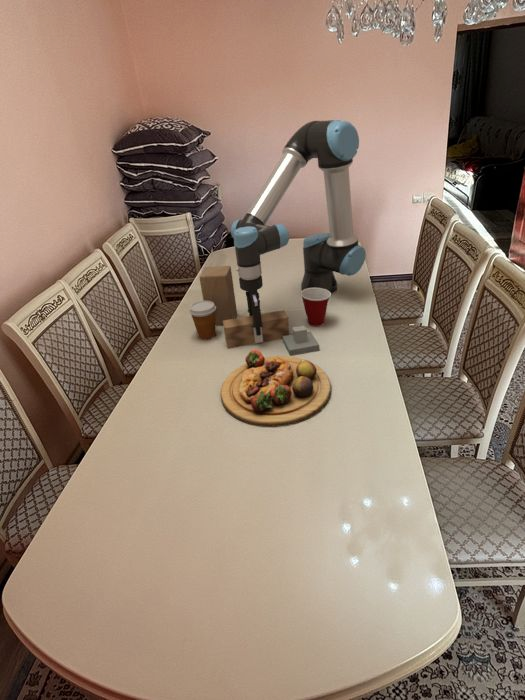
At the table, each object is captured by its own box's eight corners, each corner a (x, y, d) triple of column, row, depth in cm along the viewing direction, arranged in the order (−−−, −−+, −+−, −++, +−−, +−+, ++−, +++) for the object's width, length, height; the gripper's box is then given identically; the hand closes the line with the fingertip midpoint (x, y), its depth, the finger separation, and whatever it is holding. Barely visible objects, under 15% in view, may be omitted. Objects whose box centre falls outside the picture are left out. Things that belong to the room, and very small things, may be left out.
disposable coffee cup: (189, 340, 163) (183, 310, 157) (202, 328, 170) (197, 299, 164) (212, 343, 159) (207, 312, 153) (224, 330, 166) (220, 301, 160)
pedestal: (310, 336, 157) (309, 319, 154) (319, 350, 148) (318, 332, 145) (282, 341, 156) (281, 324, 152) (289, 355, 147) (288, 338, 144)
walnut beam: (285, 330, 163) (284, 310, 159) (289, 337, 158) (288, 317, 154) (225, 340, 160) (222, 320, 156) (227, 348, 155) (224, 328, 151)
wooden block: (237, 313, 178) (230, 265, 168) (233, 325, 170) (226, 275, 160) (212, 314, 180) (204, 266, 170) (207, 326, 171) (198, 276, 161)
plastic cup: (333, 328, 160) (332, 297, 154) (302, 330, 161) (300, 299, 155) (330, 315, 169) (329, 285, 163) (301, 317, 170) (299, 287, 164)
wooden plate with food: (215, 372, 143) (211, 350, 139) (312, 353, 147) (311, 331, 142) (229, 440, 116) (224, 415, 112) (347, 414, 120) (347, 389, 116)
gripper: (234, 268, 155) (242, 327, 166) (243, 288, 138) (251, 352, 150) (256, 264, 156) (262, 324, 167) (267, 284, 139) (273, 348, 151)
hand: (257, 337), depth 159 cm, fingers closed on walnut beam, 6 cm apart
